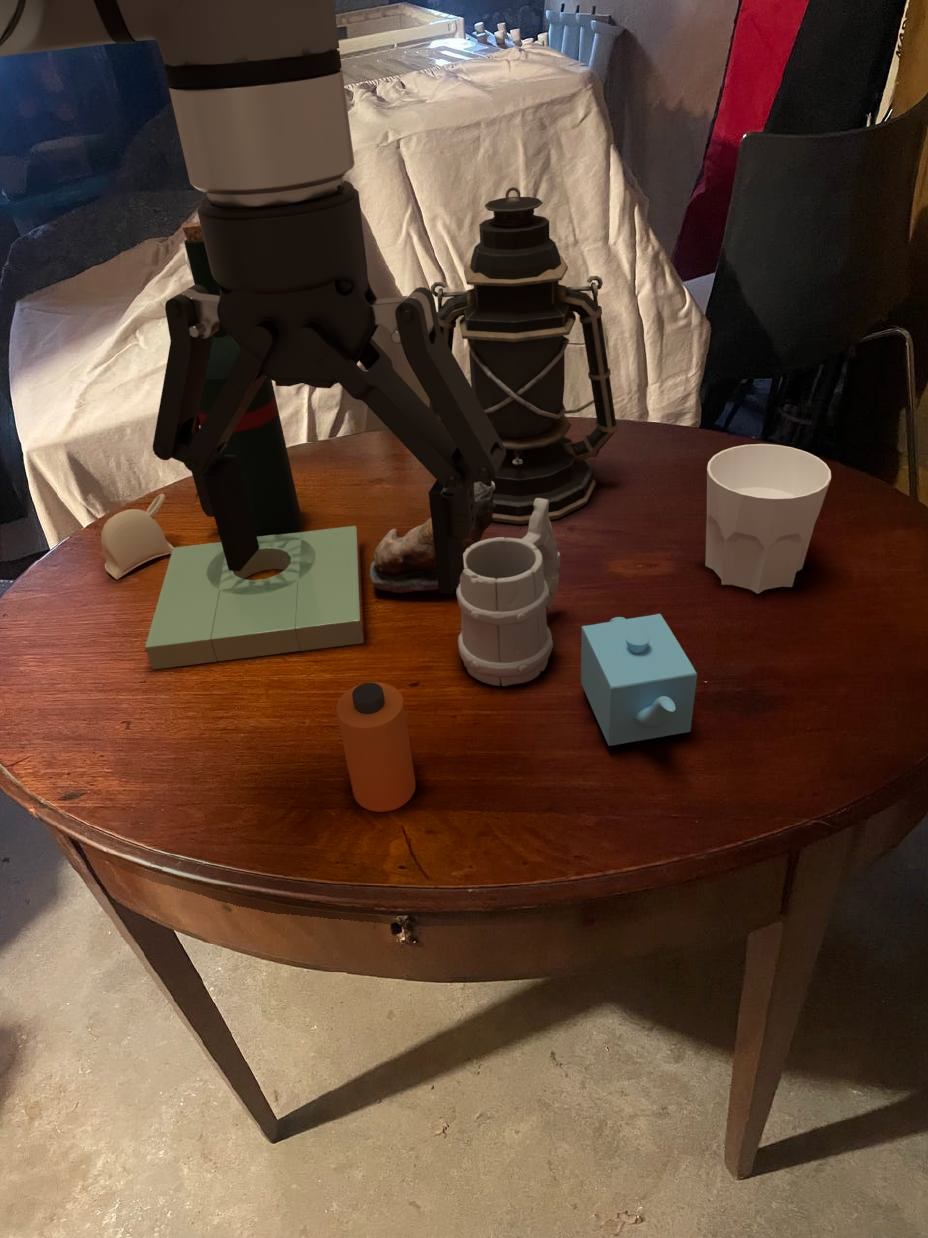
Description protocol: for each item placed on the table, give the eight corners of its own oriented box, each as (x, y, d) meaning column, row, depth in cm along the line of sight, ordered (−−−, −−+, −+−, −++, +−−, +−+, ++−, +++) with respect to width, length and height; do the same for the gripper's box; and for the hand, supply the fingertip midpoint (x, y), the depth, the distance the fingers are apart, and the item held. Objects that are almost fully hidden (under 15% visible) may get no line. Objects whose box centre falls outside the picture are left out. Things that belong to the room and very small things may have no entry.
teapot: (707, 774, 61) (719, 693, 56) (622, 790, 60) (627, 708, 56) (648, 667, 70) (654, 589, 66) (575, 679, 70) (576, 602, 65)
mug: (440, 669, 72) (427, 544, 65) (518, 597, 79) (514, 478, 72) (519, 701, 68) (514, 573, 61) (593, 622, 75) (596, 499, 68)
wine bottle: (209, 517, 95) (126, 221, 77) (303, 505, 96) (242, 209, 78) (201, 555, 89) (110, 243, 71) (302, 542, 90) (236, 229, 72)
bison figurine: (369, 607, 79) (353, 510, 73) (375, 565, 85) (361, 472, 79) (501, 599, 79) (496, 501, 73) (498, 557, 85) (493, 463, 79)
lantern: (422, 527, 90) (387, 214, 72) (439, 457, 103) (413, 176, 85) (619, 524, 88) (633, 201, 70) (612, 453, 101) (623, 164, 83)
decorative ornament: (97, 566, 89) (80, 520, 85) (171, 533, 93) (157, 488, 90) (115, 581, 86) (97, 534, 83) (190, 546, 90) (176, 501, 87)
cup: (833, 586, 77) (855, 486, 71) (727, 607, 76) (741, 507, 70) (775, 531, 85) (791, 436, 79) (679, 549, 84) (688, 454, 78)
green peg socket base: (152, 670, 74) (144, 647, 73) (179, 567, 87) (173, 546, 86) (364, 643, 75) (359, 620, 74) (359, 546, 88) (356, 524, 87)
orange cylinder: (353, 816, 60) (333, 720, 54) (352, 769, 63) (333, 675, 58) (417, 807, 60) (403, 710, 55) (413, 761, 64) (399, 666, 58)
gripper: (557, 164, 40) (559, 555, 53) (94, 175, 47) (195, 521, 59) (521, 201, 34) (533, 629, 47) (-1, 208, 41) (133, 583, 54)
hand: (344, 570), depth 53 cm, fingers open, 13 cm apart
